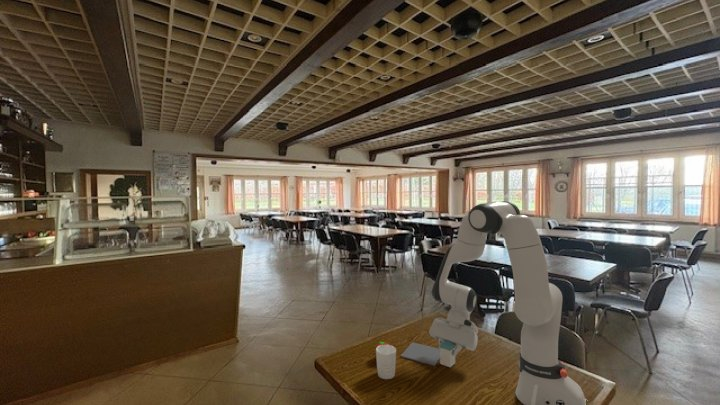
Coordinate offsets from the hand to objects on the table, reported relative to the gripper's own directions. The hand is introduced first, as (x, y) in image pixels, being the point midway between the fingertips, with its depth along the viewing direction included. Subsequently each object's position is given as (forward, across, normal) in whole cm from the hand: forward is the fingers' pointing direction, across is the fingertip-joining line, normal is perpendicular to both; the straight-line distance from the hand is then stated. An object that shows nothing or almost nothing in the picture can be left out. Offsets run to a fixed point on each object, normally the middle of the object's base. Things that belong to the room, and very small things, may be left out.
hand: (446, 352), depth 130 cm
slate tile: (+3, -12, +4) cm, 13 cm away
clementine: (+13, -23, -6) cm, 27 cm away
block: (+3, 0, +4) cm, 5 cm away
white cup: (+19, -15, -12) cm, 27 cm away
